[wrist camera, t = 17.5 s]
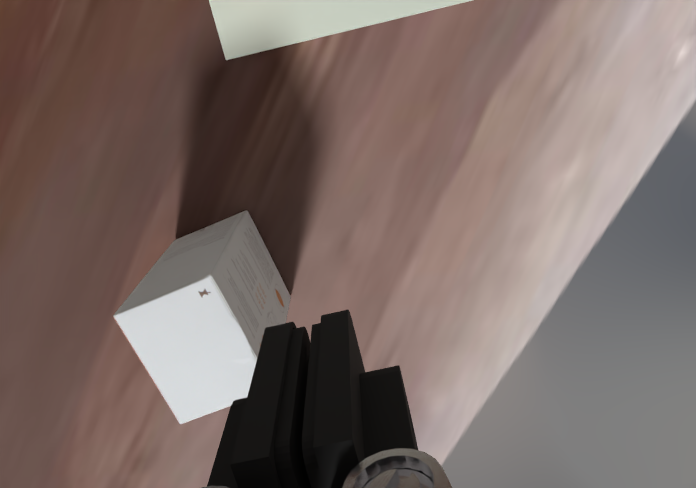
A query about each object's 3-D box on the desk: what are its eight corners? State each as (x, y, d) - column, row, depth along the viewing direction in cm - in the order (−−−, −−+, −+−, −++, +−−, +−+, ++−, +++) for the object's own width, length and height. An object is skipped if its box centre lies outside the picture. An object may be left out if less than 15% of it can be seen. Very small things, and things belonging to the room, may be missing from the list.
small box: (172, 239, 44) (108, 314, 32) (248, 207, 43) (211, 271, 31) (221, 327, 46) (178, 428, 34) (293, 298, 46) (276, 391, 33)
